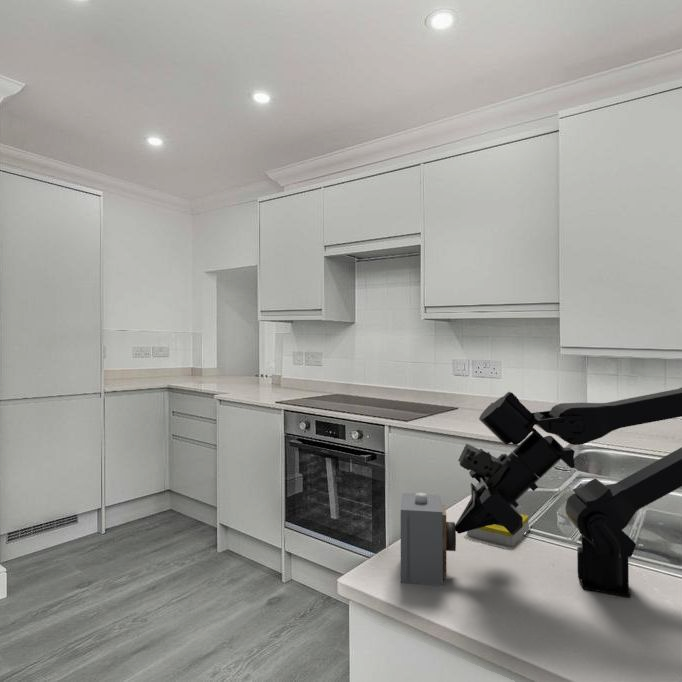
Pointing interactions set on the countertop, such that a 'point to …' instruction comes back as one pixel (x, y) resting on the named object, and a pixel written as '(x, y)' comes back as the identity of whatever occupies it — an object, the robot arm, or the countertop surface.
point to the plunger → (448, 538)
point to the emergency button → (498, 535)
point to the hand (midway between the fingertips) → (456, 530)
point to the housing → (421, 539)
